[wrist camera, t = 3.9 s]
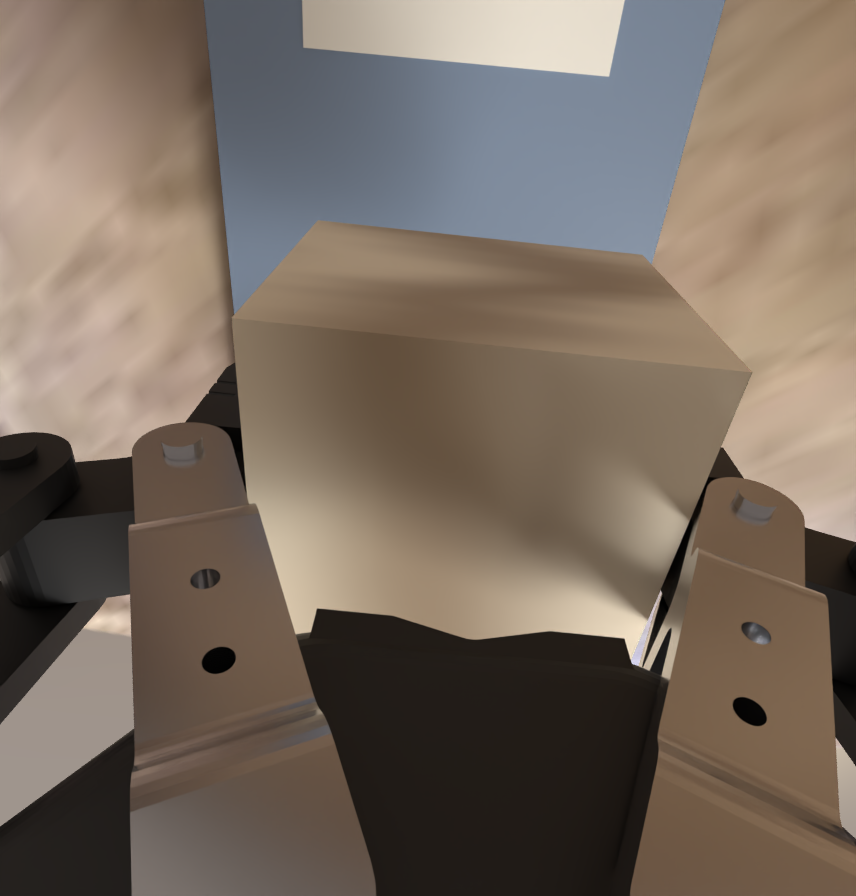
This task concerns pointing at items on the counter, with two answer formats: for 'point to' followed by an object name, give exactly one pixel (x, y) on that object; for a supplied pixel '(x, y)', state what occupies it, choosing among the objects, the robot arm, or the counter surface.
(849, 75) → the counter surface
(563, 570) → the maple block
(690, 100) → the board
